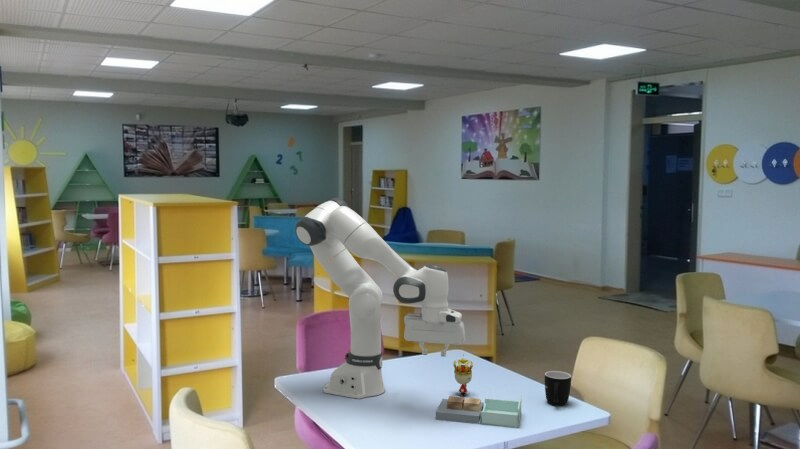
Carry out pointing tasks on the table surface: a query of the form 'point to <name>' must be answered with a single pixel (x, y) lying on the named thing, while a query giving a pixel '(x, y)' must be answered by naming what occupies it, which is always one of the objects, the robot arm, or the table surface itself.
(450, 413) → the board
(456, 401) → the tile
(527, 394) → the table surface
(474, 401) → the tile
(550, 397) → the mug
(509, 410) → the bin
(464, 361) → the toy
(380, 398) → the table surface
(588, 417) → the table surface
